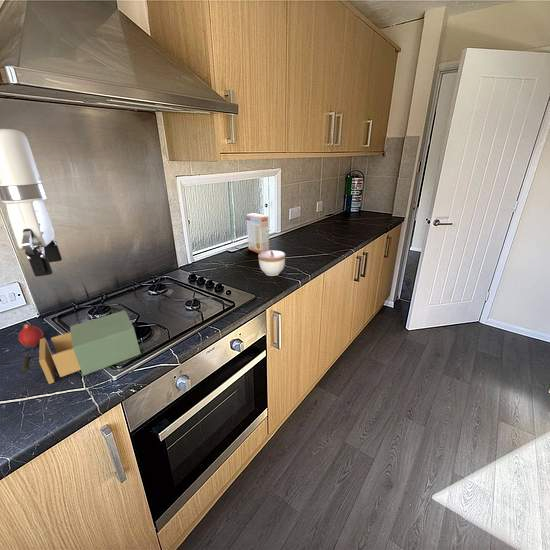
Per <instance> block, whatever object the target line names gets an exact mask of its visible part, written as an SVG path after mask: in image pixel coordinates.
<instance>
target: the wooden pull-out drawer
mask: <svg viewBox="0 0 550 550" xmlns="http://www.w3.org/2000/svg"><path fill="white" fill-rule="evenodd" d="M50 340H51V342H52V345H53V347H54V350H55V352H56V353H52V351H51V348H50V346H49V343H48V341H47V339H46V337H43V339H40V343H39V349H38V352H37V353H35V354H31V355H24V356H23V357H22V361H21V369H20V370H21V373H23V374H25V373H28V372H29V371H30V370H32V369H35V368H37V367H41V369H42V371H43V374H44V377H45V379H46V381H47V383H48V384H49V385H51V384H53V383H54V384H55V382H56V380H55V368H56V370H57V372H58V375H59V377H60V378H62V377H65V376H68V375H71V374H74V373H76V372H79V371H81V369H80V366H79V363H78V361H77V358H76V355H75V353H74V350H73V346H72V338H71V331H69V332H66V333H63V334H62V333H61V334H59V335H56V336H52V337H51V338H50ZM36 358H38V362H37V363H35V364H32V365H30V361H31V360H32V359H36Z"/></svg>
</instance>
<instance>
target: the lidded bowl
mask: <svg viewBox="0 0 550 550" xmlns="http://www.w3.org/2000/svg"><path fill="white" fill-rule="evenodd" d="M257 258H258V265H259V268H260V270H261V271H262V273H264V274H265V275H266V276H269V277H275V276H278V275H280V274H281V272H282V271H283V270H284V268H285V266H286V253H285V252H284V251H281V250H269V251H264V252H261V253H260V254H259V253H258V255H257Z"/></svg>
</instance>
